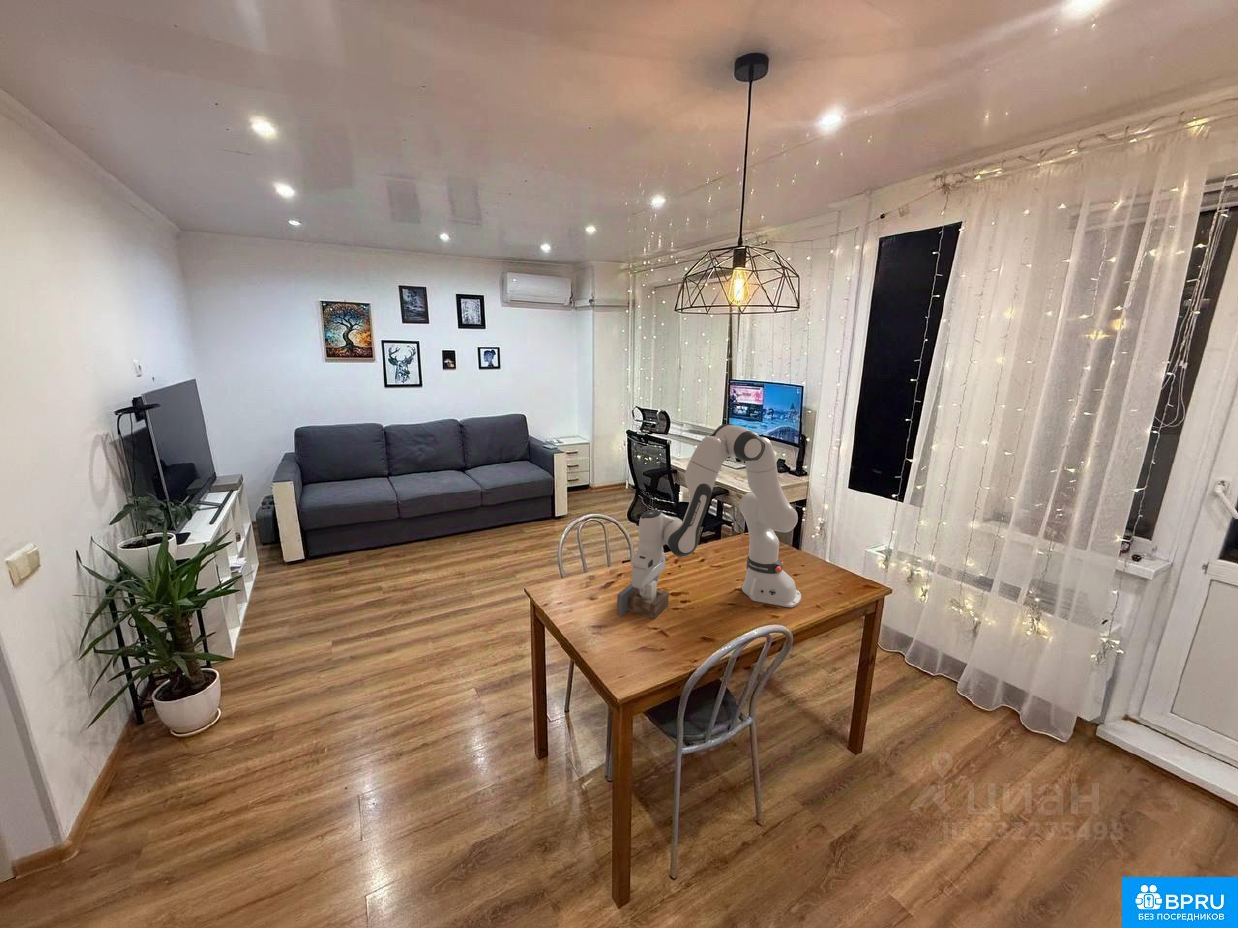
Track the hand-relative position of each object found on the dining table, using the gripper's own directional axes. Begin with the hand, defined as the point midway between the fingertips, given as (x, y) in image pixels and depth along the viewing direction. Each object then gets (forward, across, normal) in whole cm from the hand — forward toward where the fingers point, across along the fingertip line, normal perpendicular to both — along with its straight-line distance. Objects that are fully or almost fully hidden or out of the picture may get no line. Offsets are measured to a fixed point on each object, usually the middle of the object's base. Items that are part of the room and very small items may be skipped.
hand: (648, 589), depth 181 cm
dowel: (+7, 0, 0) cm, 7 cm away
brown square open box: (+8, 0, 0) cm, 8 cm away
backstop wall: (+8, 0, -6) cm, 10 cm away
